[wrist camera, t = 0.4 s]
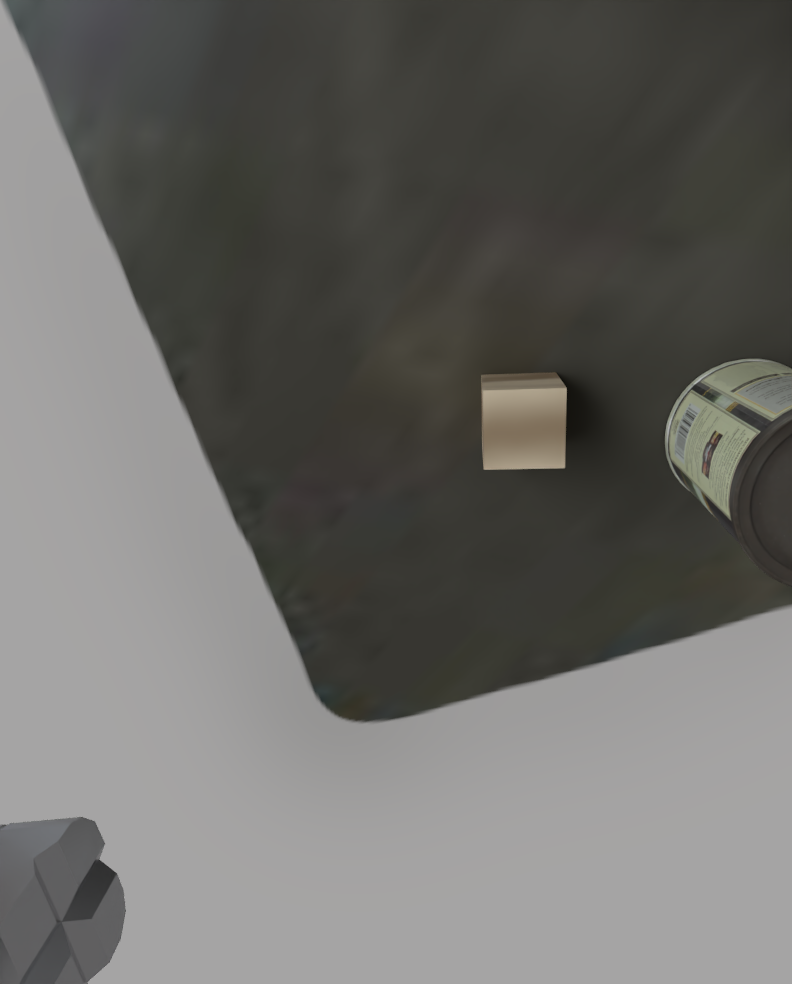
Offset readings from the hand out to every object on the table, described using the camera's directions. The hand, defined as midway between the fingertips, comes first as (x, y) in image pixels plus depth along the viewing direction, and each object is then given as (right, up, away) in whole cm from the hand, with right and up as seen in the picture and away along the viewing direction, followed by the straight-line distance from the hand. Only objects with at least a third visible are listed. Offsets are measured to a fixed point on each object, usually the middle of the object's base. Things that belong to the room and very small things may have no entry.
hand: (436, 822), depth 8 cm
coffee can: (+23, +8, +42) cm, 48 cm away
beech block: (+8, +9, +43) cm, 44 cm away
